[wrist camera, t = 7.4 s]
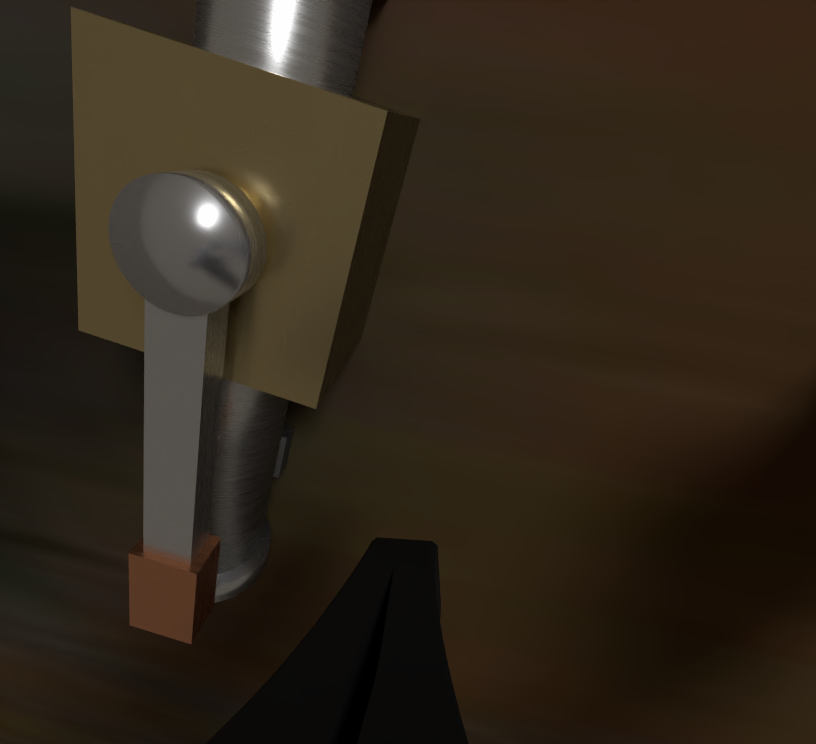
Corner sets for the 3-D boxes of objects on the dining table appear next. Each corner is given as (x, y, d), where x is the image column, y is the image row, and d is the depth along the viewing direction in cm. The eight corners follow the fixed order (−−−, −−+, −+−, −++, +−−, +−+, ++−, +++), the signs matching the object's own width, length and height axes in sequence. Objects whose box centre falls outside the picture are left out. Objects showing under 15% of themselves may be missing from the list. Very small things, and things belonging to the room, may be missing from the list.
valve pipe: (561, -408, 10) (625, -876, 5) (309, 530, 21) (261, 635, 17) (250, -509, 10) (44, -1064, 5) (168, 484, 21) (84, 575, 17)
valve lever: (149, 152, 10) (102, 155, 9) (276, 189, 10) (247, 197, 9) (145, 584, 16) (117, 621, 15) (225, 609, 16) (203, 648, 15)
